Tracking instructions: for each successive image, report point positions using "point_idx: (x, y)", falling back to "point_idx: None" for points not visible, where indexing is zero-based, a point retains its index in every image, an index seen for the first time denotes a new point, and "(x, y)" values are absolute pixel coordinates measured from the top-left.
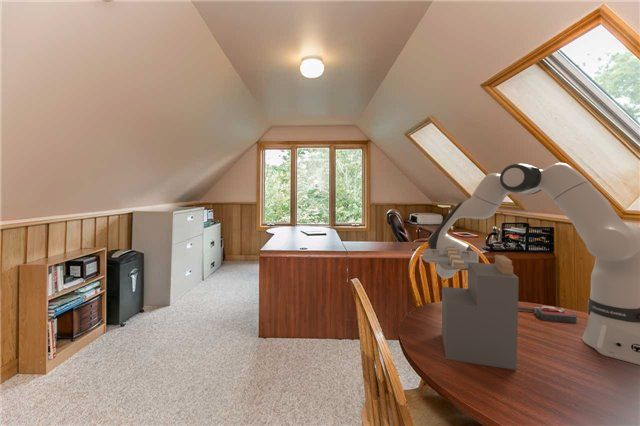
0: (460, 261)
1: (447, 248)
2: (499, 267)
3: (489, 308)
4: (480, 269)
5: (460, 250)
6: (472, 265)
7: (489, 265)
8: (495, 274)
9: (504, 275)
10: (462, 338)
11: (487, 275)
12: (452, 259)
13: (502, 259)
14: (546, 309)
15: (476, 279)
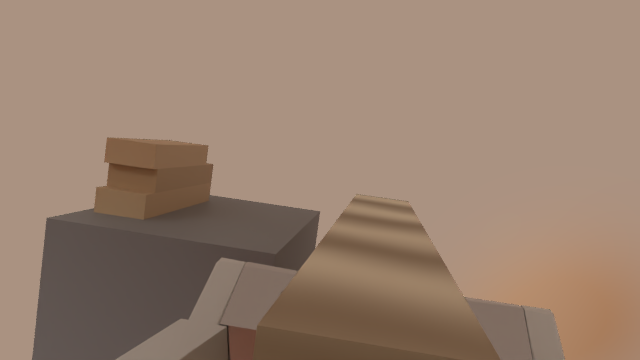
0: (371, 198)
1: (451, 290)
2: (190, 190)
3: None
4: (271, 219)
5: (131, 353)
6: (280, 235)
7: (168, 224)
8: (243, 204)
9: (216, 198)
10: None
11: (283, 206)
12: (410, 206)
13: (191, 144)
14: None
15: (314, 237)
